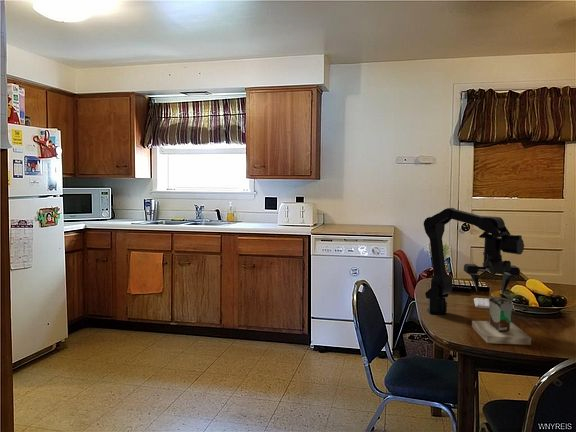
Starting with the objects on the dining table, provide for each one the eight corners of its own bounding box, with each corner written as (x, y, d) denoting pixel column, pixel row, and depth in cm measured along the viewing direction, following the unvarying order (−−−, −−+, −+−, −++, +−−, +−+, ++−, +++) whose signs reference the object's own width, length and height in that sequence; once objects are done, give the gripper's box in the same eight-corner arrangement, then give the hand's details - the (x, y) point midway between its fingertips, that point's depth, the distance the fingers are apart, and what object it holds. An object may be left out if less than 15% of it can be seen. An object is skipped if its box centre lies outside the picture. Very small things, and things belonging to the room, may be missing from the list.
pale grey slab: (487, 344, 159) (487, 336, 159) (471, 328, 177) (472, 320, 177) (530, 346, 158) (531, 337, 157) (510, 330, 175) (511, 322, 175)
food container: (519, 334, 161) (520, 305, 160) (500, 333, 161) (501, 304, 161) (505, 323, 173) (506, 296, 173) (488, 323, 174) (488, 296, 173)
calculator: (473, 301, 217) (473, 297, 217) (521, 304, 211) (521, 300, 211) (475, 308, 204) (475, 304, 204) (526, 312, 198) (527, 308, 198)
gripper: (472, 253, 169) (470, 296, 170) (527, 255, 167) (524, 298, 168) (464, 248, 180) (462, 289, 181) (515, 250, 178) (513, 291, 179)
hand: (490, 292), depth 177 cm, fingers open, 9 cm apart
